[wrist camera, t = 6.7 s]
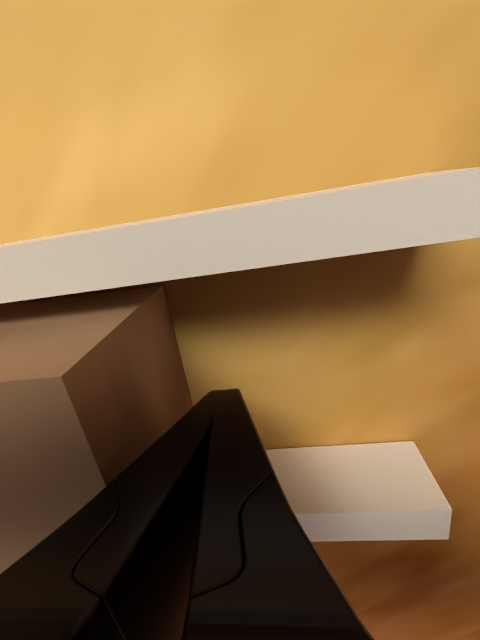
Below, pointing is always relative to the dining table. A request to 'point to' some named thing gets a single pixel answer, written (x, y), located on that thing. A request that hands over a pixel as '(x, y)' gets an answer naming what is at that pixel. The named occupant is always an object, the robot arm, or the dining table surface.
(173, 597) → the robot arm
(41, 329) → the walnut block
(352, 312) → the dining table surface
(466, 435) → the dining table surface
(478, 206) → the chute
